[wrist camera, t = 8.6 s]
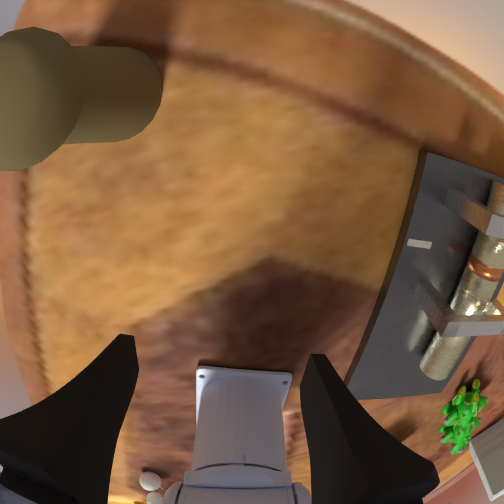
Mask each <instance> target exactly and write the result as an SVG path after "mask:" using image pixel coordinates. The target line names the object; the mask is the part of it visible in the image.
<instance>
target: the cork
mask: <svg viewBox="0 0 504 504" xmlns="http://www.w3.org/2000/svg"><path fill="white" fill-rule="evenodd" d="M162 91H163V88H162V81H161V74H160V72H159V70H158V68H157V66H156V64H155V62H154V61H153V60H152V59H151V58H150V57H149V56H147V55H146V54H145V53H144V52H142V51H139V50H137V49H134V48H132V47H116V46H71V45H70V44H69V43H68V42H67V41H66V40H65V39H64V38H63V37H62V36H60V35H59V34H58V33H55V32H52V31H48V30H44V29H41V28H37V27H30V28H24V29H19V30H14V31H10V32H7V33H5V34H4V35H2V36H1V37H0V170H2V171H19V170H21V169H24V168H27V167H30V166H33V165H35V164H38V163H40V162H42V161H43V160H45V159H46V158H47V157H48V156H49V155H51V154H52V153H53V152H54V151H56V150H57V149H58V148H59V147H60V146H61V145H62V144H76V143H97V142H117V141H122V140H126V139H130V138H131V137H133V136H135V135H136V134H138V133H140V132H141V131H143V130H144V128H145V127H146V126H147V125H148V124H149V123H150V122H151V121H152V120H153V118H154V116H155V114H156V112H157V110H158V108H159V106H160V102H161V96H162Z"/></svg>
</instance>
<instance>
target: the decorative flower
mask: <svg viewBox="0 0 504 504" xmlns="http://www.w3.org/2000/svg"><path fill="white" fill-rule="evenodd" d="M139 481H140V484H141V486H142V487H143V488H145V490H149V491H152V492H151V493H149V494H148V495H147V497H146V501H147V503H148V504H162V500H163V497H162V495H160V493H157V492H153V490H156V489H158V488H159V487H160V485H161V479H160V477H159V476H158V475H157V474H156V473H154V472H149V471H147V472H144V473H142V474H141V476H140V479H139ZM160 488H161V487H160ZM165 491H166V490H165ZM163 495H164V494H163Z"/></svg>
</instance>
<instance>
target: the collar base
mask: <svg viewBox="0 0 504 504" xmlns="http://www.w3.org/2000/svg"><path fill="white" fill-rule="evenodd" d="M493 181H496V182H499V183H502V184H504V178H503V177H500V176H498V175H495V174H492V173H490V172H487V171H484V170H482V169H479V168H476V167H473V166H471V165H468V164H465V163H462V162H459V161H456V160H453V159H450V158H447V157H444V156H440V155H437V154H434V153H431V152H427V151H424V150H420V152H419V157H418V162H417V166H416V171H415V175H414V179H413V184H412V188H411V192H410V196H409V200H408V204H407V207H406V211H405V215H404V218H403V222H402V225H401V229H400V232H399V236H398V239H397V242H396V246H395V249H394V252H393V255H392V258H391V262H390V265H389V268H388V271H387V274H386V277H385V280H384V282H383V285H382V288H381V291H380V294H379V296H378V299H377V302H376V305H375V307H374V310H373V313H372V315H371V318H370V320H369V323H368V325H367V328H366V330H365V333H364V335H363V338H362V340H361V343H360V345H359V347H358V350H357V352H356V354H355V357H354V359H353V361H352V364H351V366H350V368H349V370H348V373H347V375H346V377H345V379H344V381H343V382H344V384H345V385H346V386H347V388H348V389H349V390H350V392H351V393H352V394H353V396H354V397H355V398H356V400H367V399H383V398H395V397H406V396H415V395H424V394H432V393H439V392H442V390H443V389H444V387H445V386H446V384H447V383H448V382H449V380H450V379H451V377H452V375H453V374H454V372H455V371H456V369H457V368H458V366H459V365H460V363H461V361H462V360H463V358H464V357H465V355H466V353H467V352H468V350H469V348H470V346H471V345H472V343H473V341H474V339H475V338H476V336H482V335H497V334H504V307H503V306H502V304H501V303H500V302H499V301H498V300H497V299H496V297H497V295H498V293H499V291H500V288H501V286H502V284H503V282H504V271H503V273H502V276H501V278H500V280H499V282H498V284H497V287H496V289H495V291H494V293H493V295H492V298H491V300H490V302H489V304H488V306H487V308H486V310H485V312H484V314H483V315H457V314H456V313H455V312H454V311H453V309H452V308H451V307H450V305H449V304H450V302H451V300H452V298H453V295H454V293H455V291H456V288H457V286H458V284H459V281H460V279H461V277H462V274H463V272H464V269H465V267H466V264H467V261H468V259H469V256H470V253H471V251H472V248H473V245H474V242H475V240H476V237H477V234H478V231H479V230H480V231H481V232H483V233H484V234H485V235H489V236H494V237H498V238H503V239H504V215H503V214H499V213H496V212H495V211H493V210H492V209H490V208H488V207H487V206H486V205H487V202H488V198H489V195H490V191H491V187H492V183H493ZM436 331H437V332H438V333H439V335H440V336H441V337H463V336H471V338H470V340H469V342H468V343H467V345H466V347H465V349H464V350H463V352H462V354H461V355H460V357H459V359H458V360H457V362H456V364H455V365H454V367H453V368H452V370H451V371H450V373H449V375H448V376H447V378H445V379H444V380H434V379H431V378H429V377H428V376H426V375H425V374H424V373H423V372H422V370H421V368H420V361H421V359H422V357H423V355H424V354H425V352H426V350H427V348H428V346H429V344H430V343H431V341H432V339H433V337H434V335H435V333H436Z"/></svg>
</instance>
